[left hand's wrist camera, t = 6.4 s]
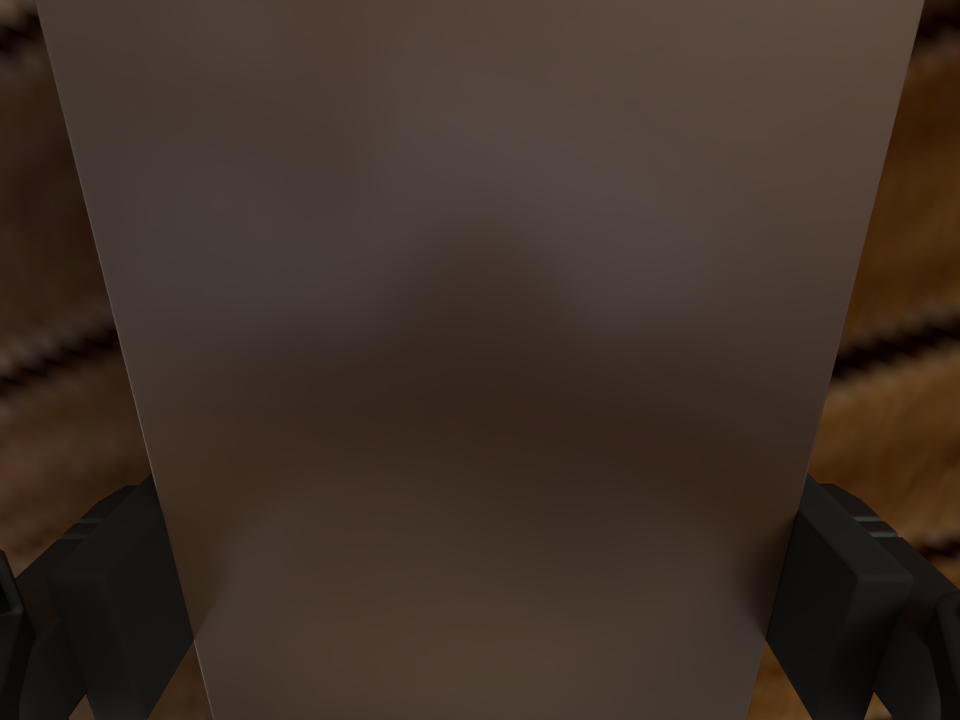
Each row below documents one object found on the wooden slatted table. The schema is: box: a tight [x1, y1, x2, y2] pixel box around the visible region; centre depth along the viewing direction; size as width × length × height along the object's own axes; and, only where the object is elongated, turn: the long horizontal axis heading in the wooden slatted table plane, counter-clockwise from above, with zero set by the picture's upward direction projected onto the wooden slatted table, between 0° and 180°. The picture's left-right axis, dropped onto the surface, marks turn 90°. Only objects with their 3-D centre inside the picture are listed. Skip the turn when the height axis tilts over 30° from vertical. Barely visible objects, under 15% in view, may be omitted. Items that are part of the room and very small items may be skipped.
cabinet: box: [35, 0, 924, 720], centre depth 12 cm, size 18×10×9 cm, turn 0°
